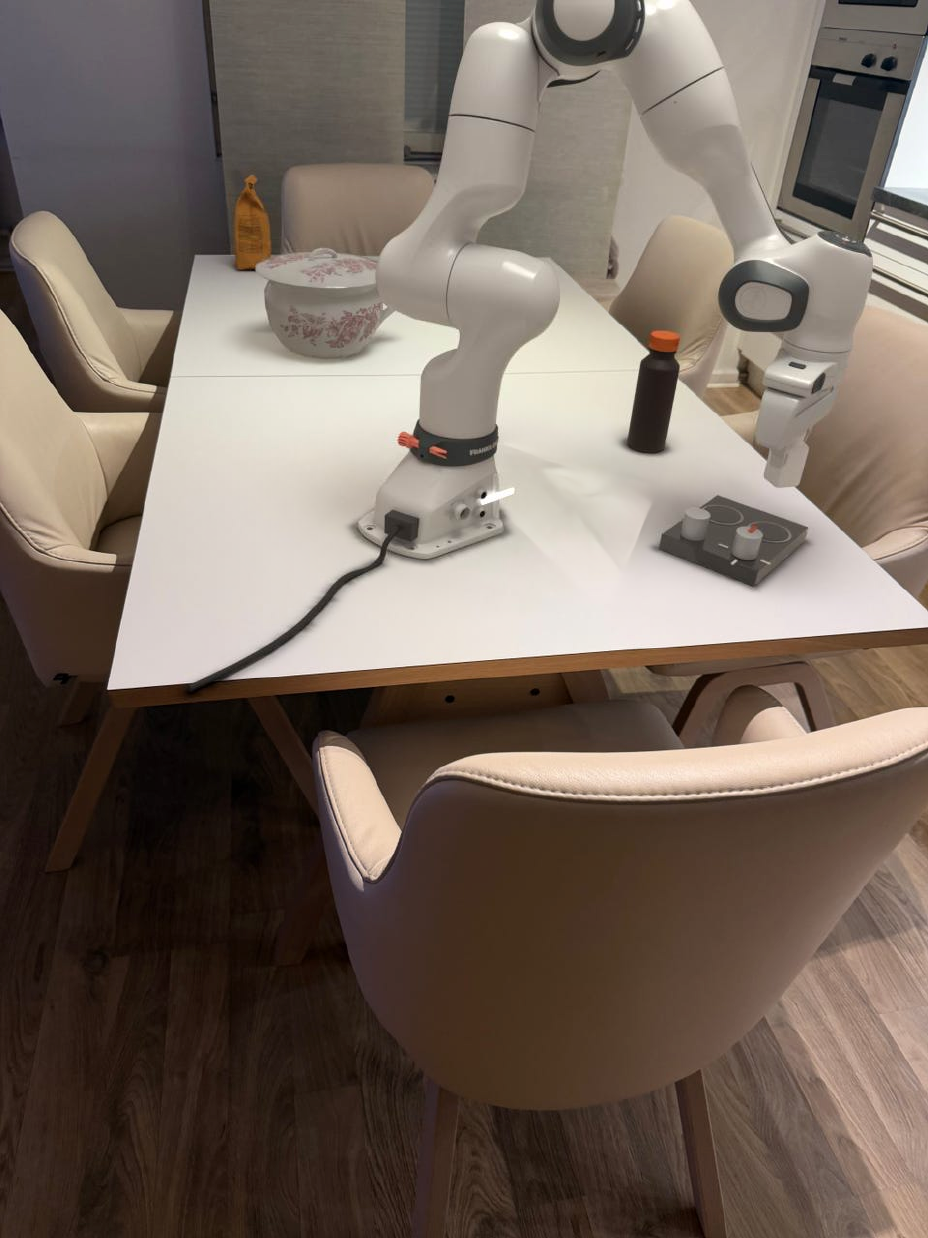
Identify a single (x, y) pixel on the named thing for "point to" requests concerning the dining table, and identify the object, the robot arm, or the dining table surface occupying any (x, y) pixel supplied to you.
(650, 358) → the bottle
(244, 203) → the coffee package
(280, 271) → the chamber pot
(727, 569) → the hob
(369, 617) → the dining table surface
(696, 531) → the hob zones
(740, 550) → the hob knob
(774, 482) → the pepper shaker
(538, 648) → the dining table surface
